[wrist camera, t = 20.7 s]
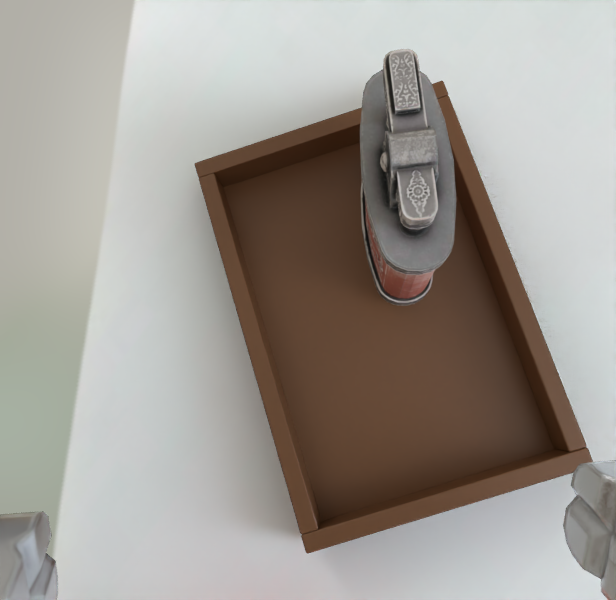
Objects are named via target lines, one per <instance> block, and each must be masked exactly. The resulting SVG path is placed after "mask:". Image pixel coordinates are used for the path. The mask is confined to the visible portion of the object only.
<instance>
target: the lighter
mask: <svg viewBox="0 0 616 600" xmlns="http://www.w3.org/2000/svg"><path fill="white" fill-rule="evenodd" d="M360 154H361V179H362V184H361V219H362V233H363V238H364V244H365V249H366V254H367V260H368V263H369V266H370V270H371V273H372V276H373V279H374V282H375V285H376V289H377V291H378V293H379V294H380V296H381V297H382V298H383V299H384V300H386V301H387V302H389V303H391V304H394V305H401V306H407V305H411V304H415V303H416V302H418V301H420V300H421V299H423V298H424V296H425V295H426V294H427V293H428V291H429V289H430V287H431V284H432V280H433V273H434V271H435V269H437V268H438V267H440V266H441V265H442V264H443V263H444V261H445V260H446V259H447V258H448V256H449V254H450V253H451V250H452V246H453V243H454V231H455V215H456V189H455V174H454V159H453V155H452V150H451V146H450V141H449V137H448V132H447V128H446V123H445V119H444V116H443V114H442V111H441V108H440V105H439V103H438V100H437V97H436V94H435V92H434V89H433V86H432V83H431V82H430V80H429V79H428V77H427V76H426V75H425V74H423V73H422V72H421V71H420V68H419V61H418V57H417V54H416V53H415V52H414V51H412V50H410V49H400V50H394V51H391V52H389V53H388V54H386V56H385V58H384V64H383V70H381V71H379V72H378V73H376V74H374V75H373V76H372V77H371V78H370V80H369V81H368V82H367V83H366V86H365V89H364V92H363V101H362V112H361V123H360Z"/></svg>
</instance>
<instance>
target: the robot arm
mask: <svg viewBox="0 0 616 600" xmlns="http://www.w3.org/2000/svg"><path fill="white" fill-rule="evenodd" d="M571 486H572V488H573V490H574V491H575V493H576V495H577V496H576V497H575V498H574V500H573V501H572V502H571V503H570V504H569V505H568V506H567V508H566V511H565V518H564V524H563V526H564V531H565V537H566V542H567V544H568V547H569V549H570V551H571V553H572V555H573V557H574V558H575V559H576V560H577V562H578V563H579V564H580V566H581V567H582V568H583V569H584V570H586V571H588V572H590V573H591V574H593V575H595V576H597V577H599V578H600V579H601V592H602V593H603V594H604V596H605V597H606V598H607V599H608V600H616V460H612V461H601V462H591V463H580V464H579V465H578V467H577V468H576V469H575V471H574V473H573V477H572V482H571ZM51 536H52V534H51V529H50V524H49V518H48V516H47V514H46V513H44V512H43V511H42V512H29V513H13V514H0V600H57V596H58V575H57V568H56V561H55V560H54V559H52V558H51V557H50V556H49V555H48V554H47V553H46V551H47V548H48V545H49V542H50V539H51Z"/></svg>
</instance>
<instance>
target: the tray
mask: <svg viewBox="0 0 616 600" xmlns="http://www.w3.org/2000/svg"><path fill="white" fill-rule="evenodd" d="M432 86H433V89H434V92H435V94H436V97H437V100H438V103H439V105H440V108H441V111H442V114H443V116H444V119H445V123H446V128H447V132H448V137H449V141H450V146H451V150H452V155H453V159H454V174H455V189H456V215H455V231H454V243H453V246H452V250H451V253H450V254H449V256H448V258H447V259H446V260H445V261H444V263H443V264H442V265H441V266H440V267H438V268H437V269H435V271H434V273H433V280H432V284H431V287H430V289H429V291H428V293H427V294H426V295H425V296H424V298H423V299H421V300H420V301H418V302H416V303H415V304H411V305H407V306H401V305H394V304H391V303H389V302H387V301H386V300H384V299H383V298H382V297H381V296H380V294H379V293H378V291H377V289H376V285H375V282H374V279H373V276H372V273H371V270H370V266H369V263H368V260H367V254H366V249H365V244H364V238H363V233H362V219H361V184H362V179H361V154H360V123H361V112H362V108H359V109H356V110H353V111H350V112H347V113H344V114H341V115H338V116H335V117H332V118H329V119H326V120H323V121H320V122H317V123H314V124H311V125H308V126H305V127H302V128H299V129H296V130H293V131H290V132H287V133H284V134H281V135H278V136H275V137H272V138H269V139H266V140H263V141H260V142H257V143H254V144H251V145H248V146H245V147H242V148H239V149H236V150H233V151H230V152H227V153H224V154H221V155H218V156H215V157H212V158H209V159H206V160H203V161H200V162H197V163H195V167H196V171H197V174H198V177H199V181H200V185H201V188H202V192H203V195H204V199H205V202H206V206H207V209H208V213H209V216H210V219H211V223H212V226H213V230H214V233H215V237H216V240H217V244H218V247H219V251H220V254H221V258H222V261H223V265H224V268H225V272H226V275H227V279H228V282H229V286H230V289H231V293H232V296H233V300H234V303H235V307H236V310H237V314H238V317H239V321H240V324H241V328H242V331H243V335H244V338H245V342H246V345H247V348H248V352H249V355H250V359H251V362H252V366H253V369H254V373H255V376H256V380H257V383H258V387H259V390H260V394H261V397H262V401H263V404H264V408H265V411H266V415H267V418H268V422H269V425H270V429H271V432H272V436H273V439H274V443H275V446H276V450H277V453H278V457H279V460H280V464H281V467H282V471H283V474H284V477H285V481H286V484H287V488H288V491H289V495H290V498H291V502H292V505H293V509H294V512H295V516H296V519H297V523H298V526H299V530H300V533H301V534H302V536H301V537H302V540H303V544H304V547H305V551H306V553H311V552H314V551H317V550H321V549H324V548H327V547H330V546H334V545H337V544H340V543H344V542H347V541H350V540H353V539H357V538H360V537H363V536H366V535H370V534H373V533H376V532H380V531H383V530H386V529H389V528H393V527H396V526H399V525H403V524H406V523H409V522H412V521H416V520H419V519H422V518H425V517H429V516H432V515H435V514H439V513H442V512H445V511H448V510H452V509H455V508H458V507H461V506H465V505H468V504H471V503H475V502H478V501H481V500H484V499H488V498H491V497H494V496H498V495H501V494H504V493H507V492H511V491H514V490H517V489H520V488H524V487H527V486H530V485H534V484H537V483H540V482H543V481H547V480H550V479H553V478H557V477H560V476H563V475H566V474H570V473H573V472H574V471H575V469H576V468H577V467H578V465H579V464H580V463H591V462H593V460H592V458H591V455H590V453H589V450H588V448H586V443H585V440H584V438H583V435H582V433H581V430H580V428H579V425H578V423H577V420H576V418H575V415H574V413H573V410H572V407H571V405H570V402H569V400H568V397H567V395H566V392H565V390H564V387H563V385H562V382H561V380H560V377H559V374H558V372H557V369H556V367H555V364H554V362H553V359H552V357H551V354H550V352H549V349H548V347H547V344H546V342H545V339H544V336H543V334H542V331H541V329H540V326H539V324H538V321H537V319H536V316H535V314H534V311H533V309H532V306H531V303H530V301H529V298H528V296H527V293H526V291H525V288H524V286H523V283H522V281H521V278H520V276H519V273H518V271H517V268H516V265H515V263H514V260H513V258H512V255H511V253H510V250H509V248H508V245H507V243H506V240H505V238H504V235H503V232H502V230H501V227H500V225H499V222H498V220H497V217H496V215H495V212H494V210H493V207H492V205H491V202H490V200H489V197H488V194H487V192H486V189H485V187H484V184H483V182H482V179H481V177H480V174H479V172H478V169H477V167H476V164H475V161H474V159H473V156H472V154H471V151H470V149H469V146H468V144H467V141H466V139H465V136H464V134H463V131H462V129H461V126H460V123H459V121H458V118H457V116H456V113H455V111H454V108H453V106H452V103H451V101H450V98H449V96H448V92H447V90H446V87H445V85H444V82H443V81H440V82H437V83H434V84H432Z"/></svg>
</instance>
